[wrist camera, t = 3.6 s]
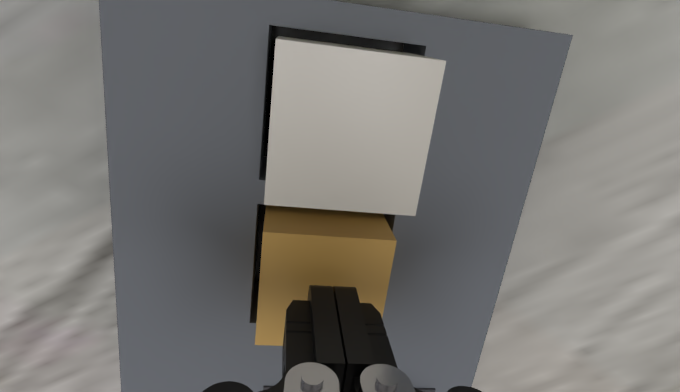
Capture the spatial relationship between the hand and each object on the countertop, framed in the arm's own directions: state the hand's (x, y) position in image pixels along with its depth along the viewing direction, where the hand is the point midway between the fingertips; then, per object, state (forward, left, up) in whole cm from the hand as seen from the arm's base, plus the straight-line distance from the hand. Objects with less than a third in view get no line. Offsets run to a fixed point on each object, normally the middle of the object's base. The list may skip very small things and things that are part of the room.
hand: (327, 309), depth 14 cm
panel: (+1, 0, -6) cm, 6 cm away
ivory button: (-6, 0, -4) cm, 7 cm away
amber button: (0, 0, -5) cm, 5 cm away
